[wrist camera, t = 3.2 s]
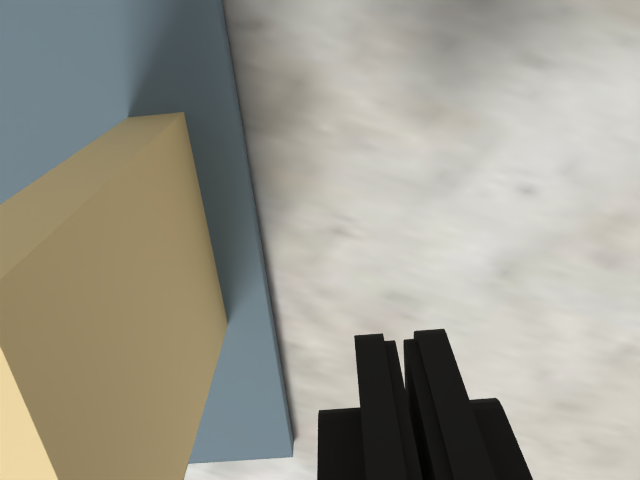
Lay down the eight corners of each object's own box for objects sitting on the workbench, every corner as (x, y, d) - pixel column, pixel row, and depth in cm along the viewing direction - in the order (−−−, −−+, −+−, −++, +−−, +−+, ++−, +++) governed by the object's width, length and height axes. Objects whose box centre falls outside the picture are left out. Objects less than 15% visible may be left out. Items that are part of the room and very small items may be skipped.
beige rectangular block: (183, 111, 17) (-21, 298, 7) (228, 324, 20) (134, 653, 10) (123, 117, 17) (-164, 310, 7) (177, 328, 20) (35, 658, 10)
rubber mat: (195, -162, 14) (188, -169, 14) (293, 442, 24) (292, 457, 23) (-391, -88, 15) (-427, -91, 15) (-74, 466, 25) (-86, 481, 24)
